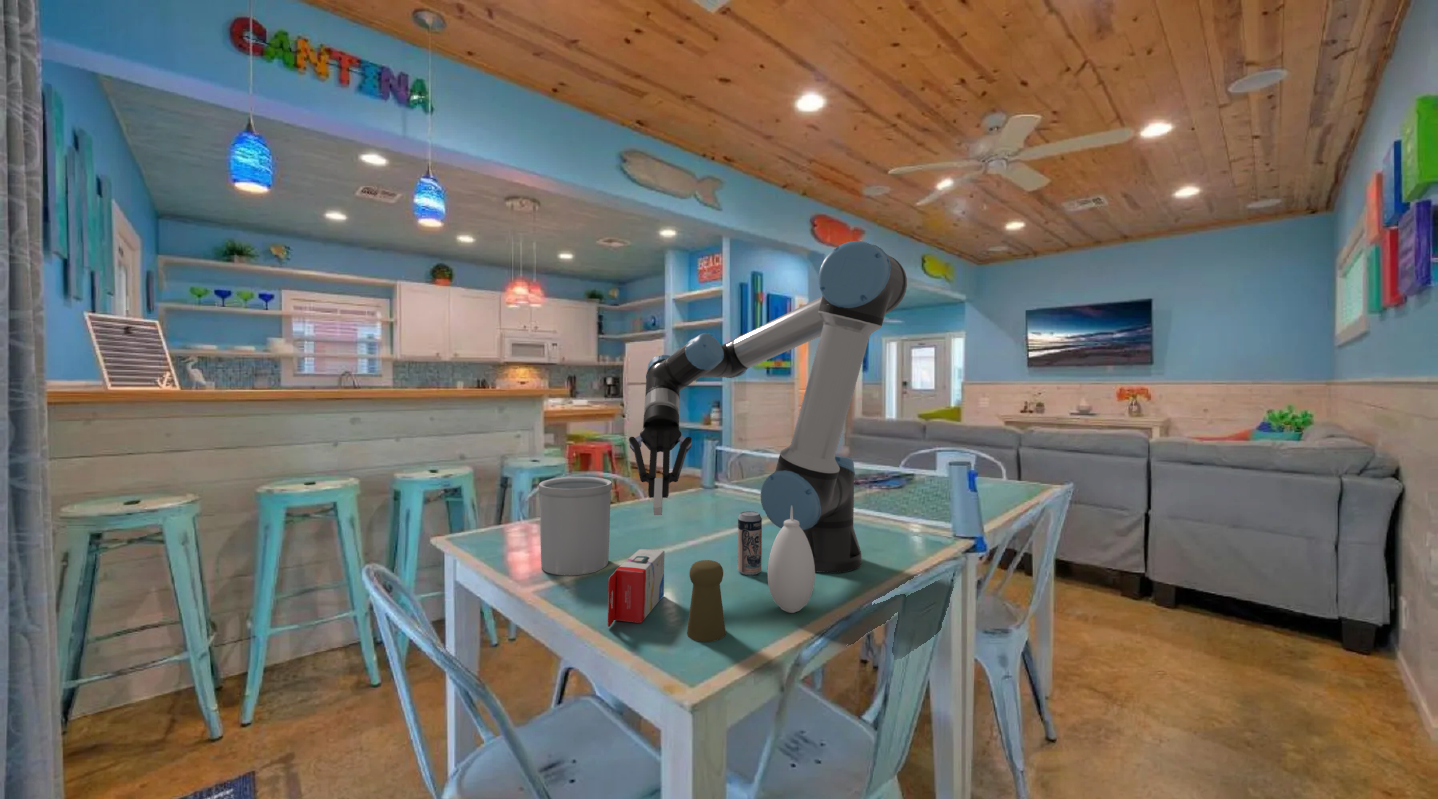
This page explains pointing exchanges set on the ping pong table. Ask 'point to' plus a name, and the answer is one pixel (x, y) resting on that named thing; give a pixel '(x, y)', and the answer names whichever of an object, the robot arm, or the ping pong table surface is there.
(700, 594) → the cork
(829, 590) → the ping pong table surface
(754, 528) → the beer can
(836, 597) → the ping pong table surface
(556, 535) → the utensil holder
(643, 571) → the ink box
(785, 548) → the air blower bulb
